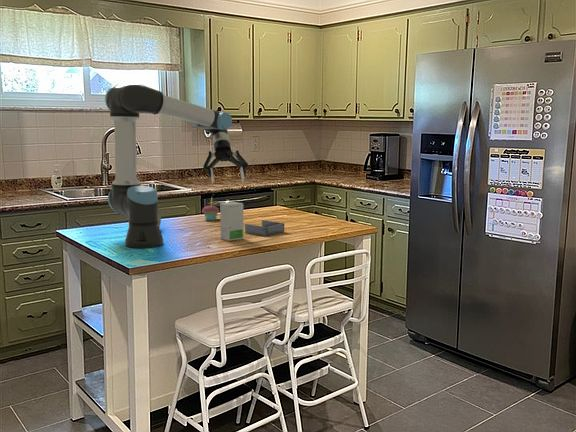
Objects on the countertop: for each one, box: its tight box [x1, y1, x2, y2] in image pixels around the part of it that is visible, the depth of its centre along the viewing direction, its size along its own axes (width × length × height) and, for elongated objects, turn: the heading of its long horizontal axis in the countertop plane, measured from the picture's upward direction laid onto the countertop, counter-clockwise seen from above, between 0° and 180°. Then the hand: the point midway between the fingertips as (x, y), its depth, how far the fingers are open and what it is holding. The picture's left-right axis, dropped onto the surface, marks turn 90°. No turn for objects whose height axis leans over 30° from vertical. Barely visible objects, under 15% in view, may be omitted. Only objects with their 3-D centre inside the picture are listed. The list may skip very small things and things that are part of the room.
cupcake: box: [201, 197, 220, 221], centre depth 287 cm, size 9×8×12 cm
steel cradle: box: [244, 219, 285, 237], centre depth 258 cm, size 13×13×4 cm
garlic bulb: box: [158, 212, 162, 229], centre depth 263 cm, size 9×8×10 cm
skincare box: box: [219, 201, 244, 242], centre depth 243 cm, size 8×7×16 cm
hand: (228, 180), depth 251 cm, fingers open, 13 cm apart
